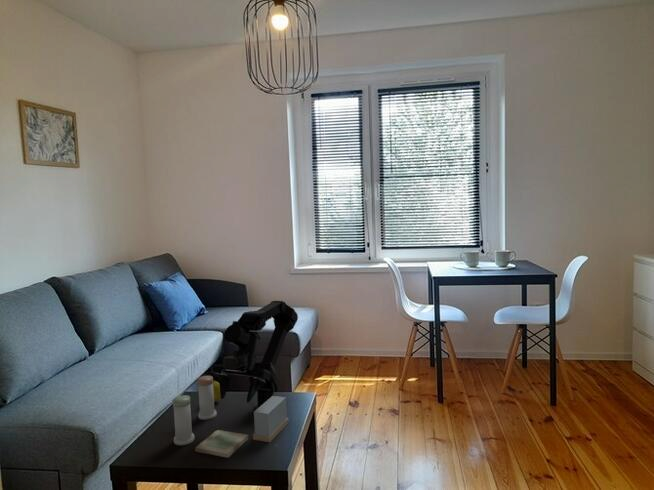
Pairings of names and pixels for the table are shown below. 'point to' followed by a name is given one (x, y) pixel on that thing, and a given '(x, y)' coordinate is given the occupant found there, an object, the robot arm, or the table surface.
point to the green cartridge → (182, 420)
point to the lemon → (216, 391)
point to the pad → (222, 443)
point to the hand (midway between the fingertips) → (234, 400)
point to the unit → (270, 419)
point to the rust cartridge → (206, 398)
